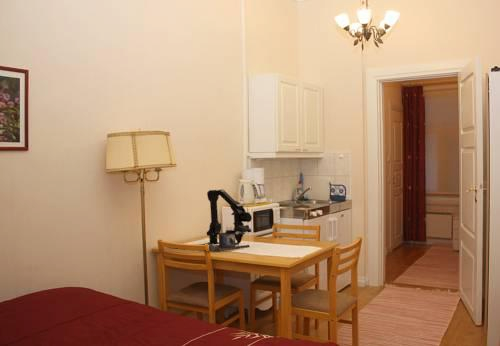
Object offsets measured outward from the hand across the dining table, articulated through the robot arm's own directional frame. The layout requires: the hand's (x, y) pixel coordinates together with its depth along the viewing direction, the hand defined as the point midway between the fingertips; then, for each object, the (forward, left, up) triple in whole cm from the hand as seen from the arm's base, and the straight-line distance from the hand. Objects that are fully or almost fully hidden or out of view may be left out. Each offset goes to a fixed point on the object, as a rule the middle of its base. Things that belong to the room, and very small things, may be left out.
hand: (239, 243), depth 335 cm
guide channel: (0, -9, -2) cm, 10 cm away
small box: (0, -10, -3) cm, 10 cm away
